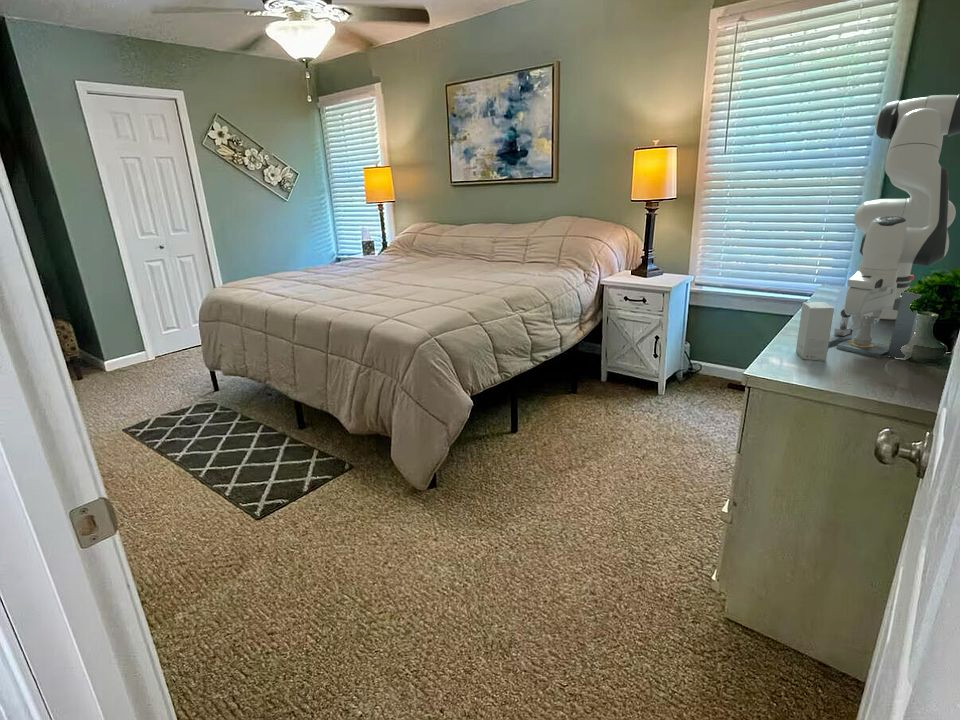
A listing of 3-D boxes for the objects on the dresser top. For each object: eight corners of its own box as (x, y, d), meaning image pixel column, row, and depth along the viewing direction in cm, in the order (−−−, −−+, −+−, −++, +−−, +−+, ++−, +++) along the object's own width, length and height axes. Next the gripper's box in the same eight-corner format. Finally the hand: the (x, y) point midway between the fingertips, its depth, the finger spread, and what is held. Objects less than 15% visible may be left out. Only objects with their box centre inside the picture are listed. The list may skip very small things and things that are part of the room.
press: (840, 336, 158) (852, 279, 152) (920, 353, 141) (937, 290, 135) (813, 345, 151) (825, 285, 145) (894, 364, 134) (910, 298, 128)
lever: (840, 331, 157) (845, 306, 154) (850, 333, 155) (855, 308, 152) (833, 333, 155) (838, 309, 152) (843, 335, 153) (848, 310, 150)
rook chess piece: (848, 341, 149) (854, 315, 146) (863, 340, 149) (869, 314, 146) (859, 346, 145) (865, 319, 142) (875, 345, 145) (881, 318, 142)
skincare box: (826, 361, 139) (837, 308, 134) (801, 359, 141) (810, 307, 136) (817, 351, 146) (827, 301, 141) (793, 350, 148) (802, 300, 143)
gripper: (882, 271, 148) (871, 317, 152) (844, 281, 138) (834, 329, 143) (907, 274, 142) (896, 321, 147) (870, 284, 133) (859, 334, 138)
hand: (865, 325), depth 145 cm, fingers open, 8 cm apart
